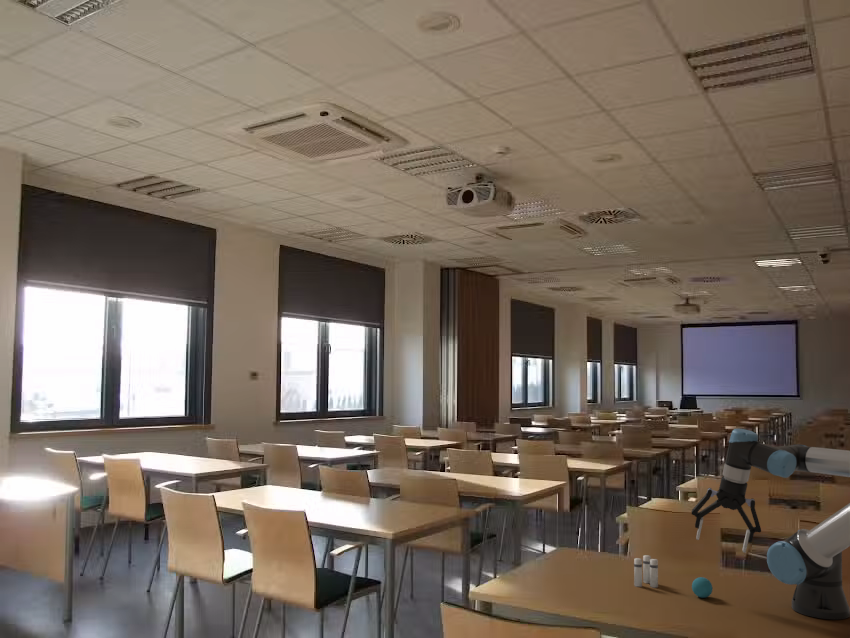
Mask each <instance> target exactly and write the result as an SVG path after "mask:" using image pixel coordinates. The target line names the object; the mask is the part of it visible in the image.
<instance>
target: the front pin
mask: <svg viewBox="0 0 850 638" xmlns="http://www.w3.org/2000/svg"><path fill="white" fill-rule="evenodd" d="M649 587H650V588H655V589H656V588H659V559H657V558H651V559H650V583H649Z"/></svg>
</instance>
